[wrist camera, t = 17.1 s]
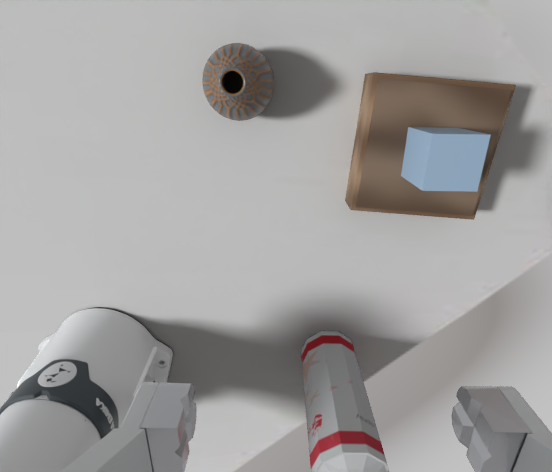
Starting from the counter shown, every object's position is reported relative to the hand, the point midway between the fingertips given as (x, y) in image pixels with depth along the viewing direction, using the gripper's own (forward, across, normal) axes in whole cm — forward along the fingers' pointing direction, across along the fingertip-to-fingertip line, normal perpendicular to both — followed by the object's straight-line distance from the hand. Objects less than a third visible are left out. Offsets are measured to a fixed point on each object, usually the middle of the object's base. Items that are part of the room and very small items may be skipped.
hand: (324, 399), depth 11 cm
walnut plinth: (+33, -14, -3) cm, 36 cm away
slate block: (+29, -14, -3) cm, 32 cm away
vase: (+33, +5, -9) cm, 35 cm away
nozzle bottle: (+33, -6, +26) cm, 43 cm away
